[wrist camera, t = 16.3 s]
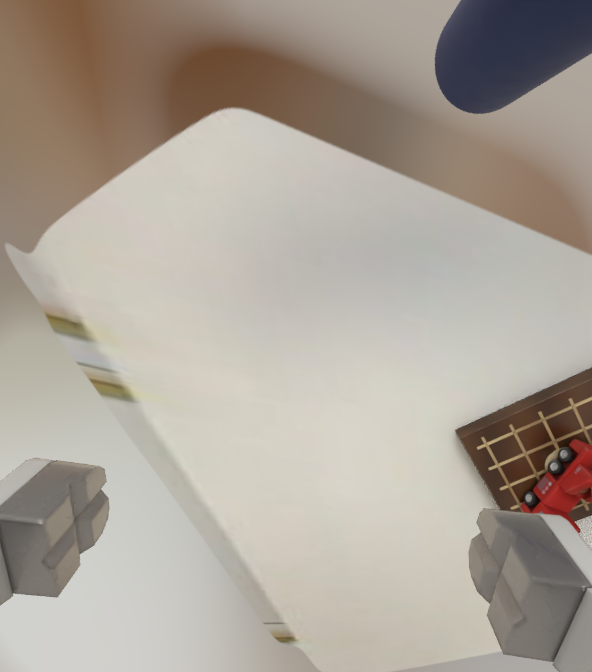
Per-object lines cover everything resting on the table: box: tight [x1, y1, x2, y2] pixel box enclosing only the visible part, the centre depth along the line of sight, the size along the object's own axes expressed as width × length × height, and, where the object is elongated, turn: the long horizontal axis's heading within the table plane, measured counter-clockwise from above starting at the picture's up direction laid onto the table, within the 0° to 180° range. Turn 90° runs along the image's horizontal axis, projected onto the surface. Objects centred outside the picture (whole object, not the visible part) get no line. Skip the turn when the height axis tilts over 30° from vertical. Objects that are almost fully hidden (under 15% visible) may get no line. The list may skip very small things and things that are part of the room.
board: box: [456, 368, 592, 522], centre depth 38 cm, size 16×16×2 cm
